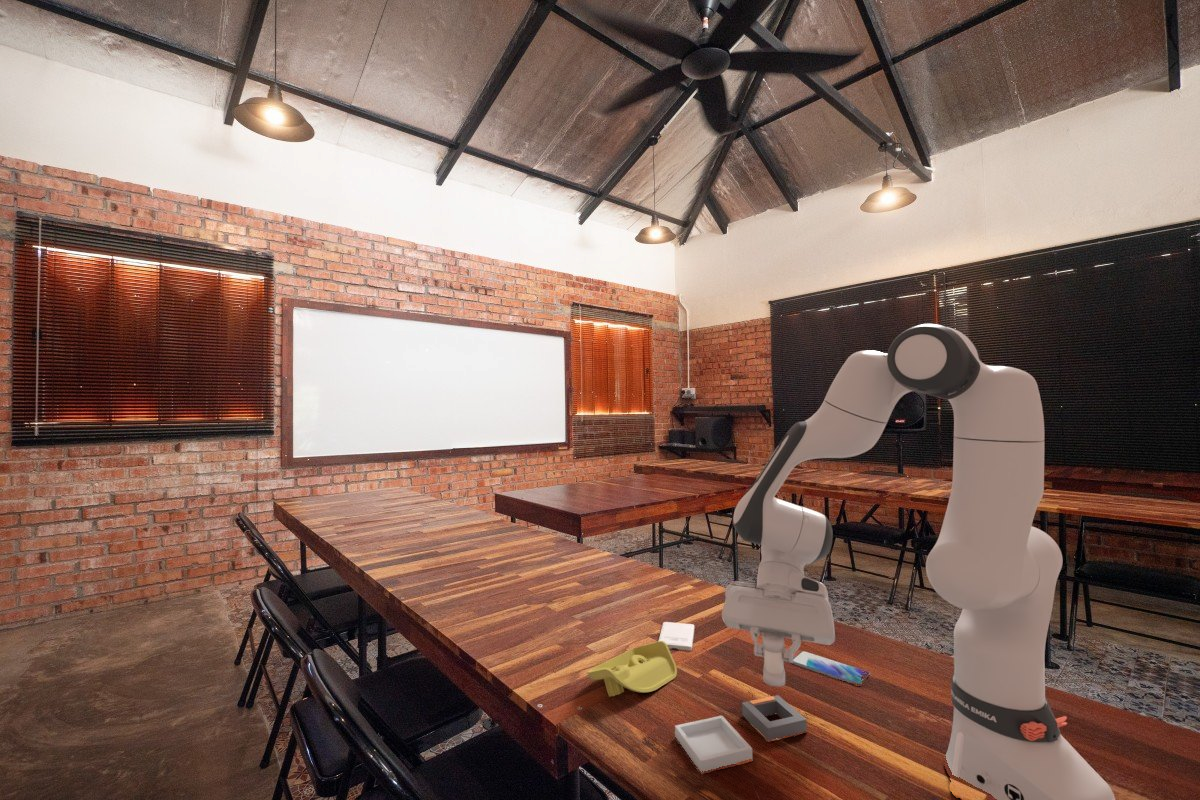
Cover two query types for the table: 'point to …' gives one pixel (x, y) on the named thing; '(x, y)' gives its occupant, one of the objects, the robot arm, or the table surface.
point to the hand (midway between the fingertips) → (773, 658)
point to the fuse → (773, 659)
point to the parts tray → (712, 743)
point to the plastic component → (637, 669)
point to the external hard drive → (677, 635)
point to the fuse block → (777, 728)
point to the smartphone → (829, 667)
